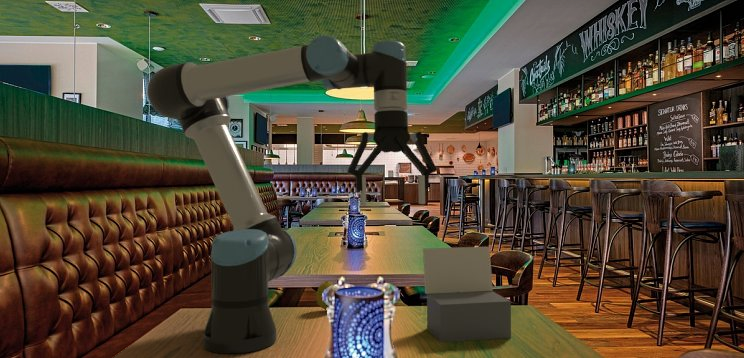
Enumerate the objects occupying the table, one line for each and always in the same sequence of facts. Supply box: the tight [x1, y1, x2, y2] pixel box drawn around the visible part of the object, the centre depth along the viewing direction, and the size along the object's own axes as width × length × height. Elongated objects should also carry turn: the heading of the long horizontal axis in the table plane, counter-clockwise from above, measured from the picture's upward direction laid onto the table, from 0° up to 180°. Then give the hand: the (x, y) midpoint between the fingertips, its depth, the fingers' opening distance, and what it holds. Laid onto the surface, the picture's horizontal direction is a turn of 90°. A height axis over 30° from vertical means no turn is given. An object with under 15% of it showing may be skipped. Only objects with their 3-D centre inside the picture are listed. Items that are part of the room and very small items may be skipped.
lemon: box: [316, 280, 335, 311], centre depth 132 cm, size 6×6×8 cm
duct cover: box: [422, 246, 494, 295], centre depth 119 cm, size 16×10×1 cm
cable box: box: [426, 290, 512, 343], centre depth 113 cm, size 16×10×8 cm, turn 100°
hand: (393, 205), depth 114 cm, fingers open, 13 cm apart
